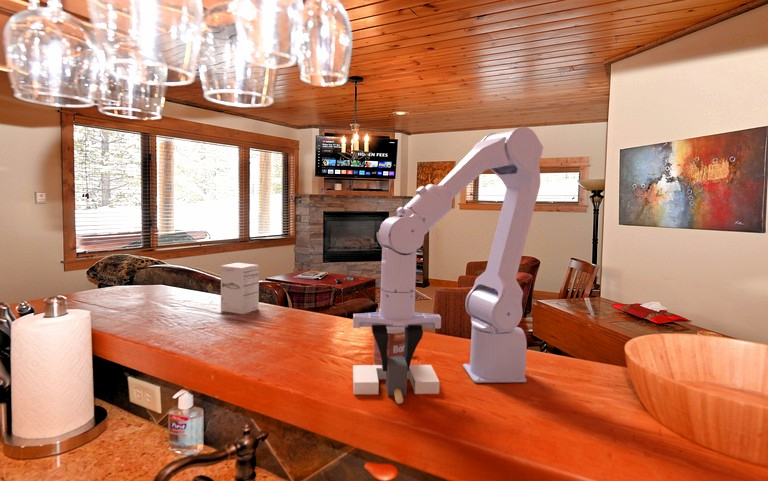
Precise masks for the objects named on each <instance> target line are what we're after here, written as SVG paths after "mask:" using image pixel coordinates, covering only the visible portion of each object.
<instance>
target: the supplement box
mask: <svg viewBox="0 0 768 481" xmlns="http://www.w3.org/2000/svg"><path fill="white" fill-rule="evenodd" d="M259 289H260V265H259V264H253V263H243V262H234V263H229V264H221V265H220V312H224V313H225V312H227V313H232V314H238V315H245V314H248V313H251V312H254V311H257V310H259V299H260V298H259V297H260V296H259V295H260V290H259Z"/></svg>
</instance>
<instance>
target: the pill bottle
mask: <svg viewBox="0 0 768 481" xmlns="http://www.w3.org/2000/svg"><path fill="white" fill-rule="evenodd" d="M378 312H380V308H379V309H378ZM387 333H388V344H387V357H404V348H405V329H404V327H387ZM373 338H374V337H373ZM373 365H382V359H381V354H380V351H379V348H378V345H377V342H376V340H375V338H374V339H373Z"/></svg>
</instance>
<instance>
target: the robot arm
mask: <svg viewBox="0 0 768 481" xmlns="http://www.w3.org/2000/svg"><path fill="white" fill-rule="evenodd" d="M543 150H544V146H543V144H542V143H541V141H540V139H539V137H538V136H537V134H536V132H535V130H533V129H531V128H530V127H527V126H520V127H516V128H515V129H510V130H506V131H501V132H493V133H488V134H487V135H485V136H484V137H483V139H481V140H480V141H478V142H477V143H475V144H474V145H473V147H472V148H471V150H470V151H469V152H468V153H467V154H466V155H465V156H464V157H463V158H462V159H461V160H460V161H459V162H458V163H457V165H455V166H454V168H453V169H452V170H451V171H449V173H448V174H447V175H446V176H445V177H444V178H443V179H442V180H441V181H440V182H439V183H438V184H433V183H432V184H431V183H429V184H427V185H426V186H423V185H422V186H419V187H418V188H417V189H416V190H415V192H416V195H415V196H413V198H412V199H411V200H410V201H408V202H407V203H406V204H405V205H404V206H399V207H398V208H397V209H396V211H395V212H396V216H395V215H394V216H389V217H387V218H385V220H384V221H382V222H381V224H380V226H379V227H380V228H379V230H378V231H377V232H376V239H377V243H379V245H380V247H381V269H380V302H379V303H380V304H379V305H380V306H379V309H380V312H379V311H377V312H376V311H375V312H364V313H363V312H362V313H353V314H352V316H353V317H352V328H353V329H360V328H368V327H369V328H371V331H372V336H373V338H375V340H376V342H377V345H378V348H379V351H380V354H381V359H382V369H383V371H387V344H388V333H387V327H404V329H405V348H404V357H405V360H406V363H407V366H408V368H407V371H409V367H410V365H411V363H412V359H413V357H414V353H415V351H416V349H417V347H418V345H419V344H420V341H421V340H422V339H423V335H424V330H423V328H434V329H441V328H442V317H441V315H440V314H438V313H425V312H424V313H421V312H415V304H416V278H417V276H416V275H417V250H419V249H420V248H421V247H422V245H423V244H424V240H425V235H426V234H427V233H428V232H429V231H430V230H431V229H432V228H434V227H435V225H437V223H439V222H440V221H441V220H442V219H443V218H444V217H445V216H446V215H447V214H448V213H449V212H450V211H452V206H453V199H454V198H455V197H456V196H457V195H458V194H459V193H461V192H462V191H463V190H464V189H466V187H468V186H469V185H470V184H471V183H472V182H474V181H475V180H476V179H477V178H478V177H480V176H481V174H482V173H484V172H485V171H487V170H491V171H492V173H494V174H495V175H496V176H498V178H499V179H501V181H502V183H503V185H504V186H505V187H506V191H505V194H504V199H503V202H502V205H501V210H500V214H499V217H498V222H497V224H496V225H497V226H496V230H495V233H494V237H493V240H492V244H491V248H490V252H489V256H488V260H487V264H486V268H485V271H483V272H482V273H481V274H480V275H479V276H477V277H476V279H475V281H474V285H473V286H472V288H471V289H470V291H469V292H468V294H467V295H466V297H465V304H464V306H465V310H466V312H467V314H468V315H469V316H470V322H471V333H470V334H471V336H470V337H471V338H470V356H469V357H470V358H469V363H463V364H462V367H463V369H465V371H466V372H467V374H468V375H469V377H470V378H471V380H472V381H473V382H474V383H475V384H476V383H477V384H478V383H479V384H480V383H485V384H486V383H526V382H527V378H526V366H527V365H526V364H527V349H528V348H527V346H528V345H527V336H526V334H525V331H524V329H522V328H521V327H518V325H519V324H520V322H521V320H522V319H523V318H522V317H523V306H522V305H523V304H522V303H523V302H522V301H523V295H524V292H523V289H522V287H521V286H520V284H519V282H518V281H517V275H518V272H519V268H520V264H521V261H522V258H523V257H522V256H523V253H524V249H525V245H526V243H527V237H528V234H529V230H530V226H531V221H532V218H533V214H534V210H535V206H536V202H537V200H538V199H537V198H538V194H539V192H540V187H541V170H540V168H541V167H540V161H541V157H542V154H543Z"/></svg>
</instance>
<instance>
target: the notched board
mask: <svg viewBox="0 0 768 481" xmlns="http://www.w3.org/2000/svg"><path fill="white" fill-rule="evenodd" d="M379 380H386V371H383V369H382V365H374V364H372V365H371V364H363V365H361V364H359V365H358V364H356V365H355V364H354V365H352V383H353V385H352V386H353V387H352V388H353V390H354V391H353V395H379V387H380V386H379ZM407 380H409V381H410V384H411V386H412V389H413V393H414V395H415V394H416V395H425V394H427V395H428V394H429V395H431V394H432V395H433V394H434V395H435V394H437V395H439V394H440V385H441V384H440V380H439V377H438V376H437V374H436V372H435V369H434V368H433V366H432V364H410V367H409V371H407Z"/></svg>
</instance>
